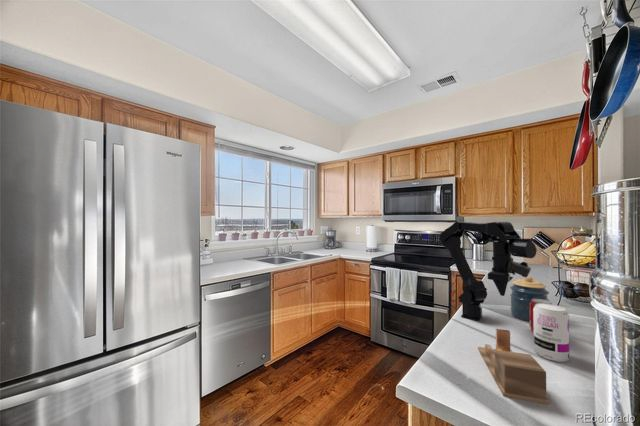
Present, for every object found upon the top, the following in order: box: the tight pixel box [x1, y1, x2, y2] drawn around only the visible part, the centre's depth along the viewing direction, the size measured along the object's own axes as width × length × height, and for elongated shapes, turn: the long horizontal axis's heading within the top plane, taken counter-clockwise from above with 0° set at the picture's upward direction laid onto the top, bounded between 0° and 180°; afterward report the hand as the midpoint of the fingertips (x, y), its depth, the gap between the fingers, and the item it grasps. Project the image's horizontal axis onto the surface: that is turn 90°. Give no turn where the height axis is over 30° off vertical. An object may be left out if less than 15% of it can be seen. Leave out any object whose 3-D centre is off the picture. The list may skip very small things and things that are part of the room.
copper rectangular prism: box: [495, 328, 511, 352], centre depth 69 cm, size 13×3×9 cm, turn 161°
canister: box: [509, 275, 550, 322], centre depth 111 cm, size 13×13×18 cm
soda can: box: [529, 299, 553, 333], centre depth 95 cm, size 7×7×12 cm
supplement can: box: [533, 303, 570, 363], centre depth 80 cm, size 8×8×15 cm
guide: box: [477, 344, 550, 405], centre depth 71 cm, size 23×9×7 cm, turn 161°
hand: (502, 295), depth 98 cm, fingers closed
